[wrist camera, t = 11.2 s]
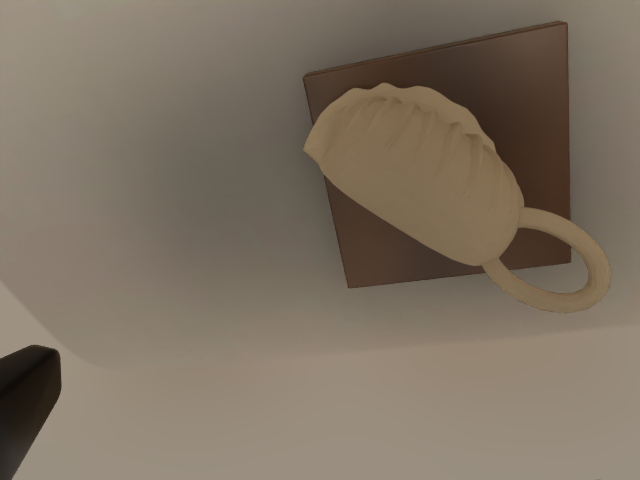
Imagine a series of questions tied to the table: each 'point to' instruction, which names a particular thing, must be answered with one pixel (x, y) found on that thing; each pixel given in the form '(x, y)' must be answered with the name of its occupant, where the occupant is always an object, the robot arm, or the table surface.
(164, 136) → the table surface
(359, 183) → the decorative ornament
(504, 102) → the coaster
